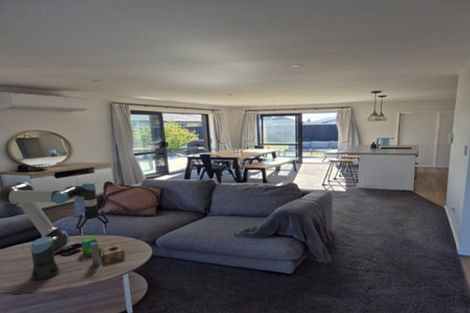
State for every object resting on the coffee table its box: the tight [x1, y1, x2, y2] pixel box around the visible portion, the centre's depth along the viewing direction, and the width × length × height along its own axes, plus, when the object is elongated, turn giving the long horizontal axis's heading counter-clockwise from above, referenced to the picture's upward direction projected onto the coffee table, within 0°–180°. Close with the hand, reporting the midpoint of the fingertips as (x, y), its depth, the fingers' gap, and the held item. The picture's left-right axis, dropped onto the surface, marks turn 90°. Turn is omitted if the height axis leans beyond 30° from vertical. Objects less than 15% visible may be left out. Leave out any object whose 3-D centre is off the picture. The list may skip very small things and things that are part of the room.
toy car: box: [81, 237, 103, 257], centre depth 220 cm, size 10×13×10 cm
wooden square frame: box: [102, 243, 125, 264], centre depth 213 cm, size 13×13×6 cm
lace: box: [80, 254, 103, 263], centre depth 213 cm, size 17×4×1 cm, turn 130°
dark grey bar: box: [91, 241, 101, 267], centre depth 202 cm, size 4×4×15 cm
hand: (93, 235), depth 201 cm, fingers open, 13 cm apart
